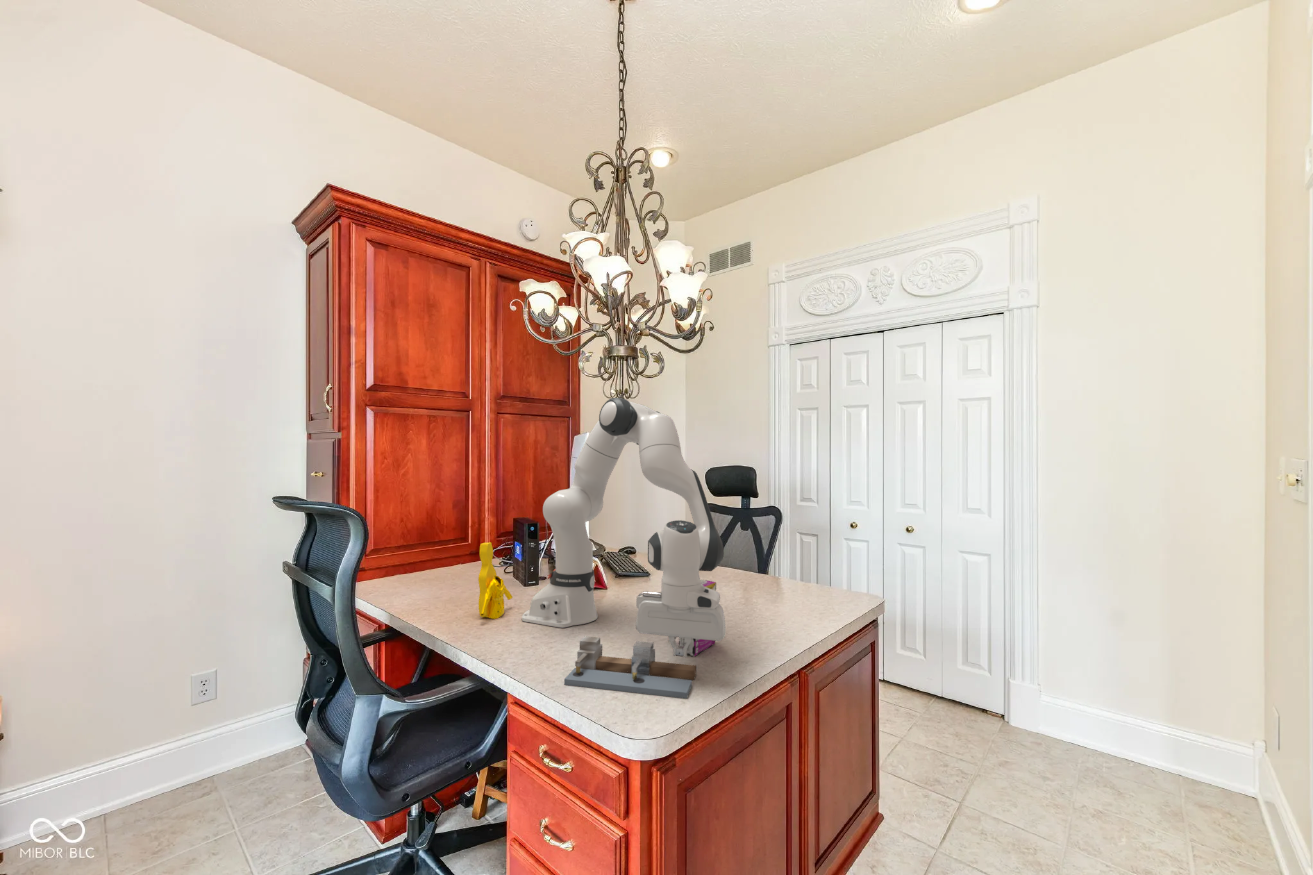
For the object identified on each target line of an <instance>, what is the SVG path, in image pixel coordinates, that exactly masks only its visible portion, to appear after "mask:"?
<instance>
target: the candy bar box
mask: <svg viewBox="0 0 1313 875" xmlns="http://www.w3.org/2000/svg"><path fill="white" fill-rule="evenodd" d="M700 585H702V586H704V587H707V588H709V589H712V590H714V591H717V581H713V580H707V579H706V580H705V579H700ZM686 643H687V642H684V638H683V637H678V646H685V645H686ZM715 644H716V641H713V640H703V639H693V638H692V641H691V643H690V644H689V646H688V648H687V656H690V657H692V658H693V657H696V656H697V655H699V654H700V653H702V652H704V651H705V650H707V649H709V648H710V647H712V646H713V645H715Z"/></svg>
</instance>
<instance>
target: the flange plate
mask: <svg viewBox="0 0 1313 875" xmlns="http://www.w3.org/2000/svg"><path fill="white" fill-rule="evenodd" d="M563 685H564V686H565V685H566V686H572V687H573V686H575V687H581V688H589V689H590V688H591V689H600V690H609V691H616V692H617V691H618V692H627V693H635V694H641V695H642V694H643V695H653V696H661V697H670V698H678V699H679V698H680V699H685V700H686V699H688V696H689V694H690V692H691V689H692V687H693V680H690V679H680V678H671V677H661V676H652V675H649V676H647V675H637V679H635V680H634V679H632V674H631V673H624V672H614V671H605V670H590V669H581V668H580V673H576V667H574V668H573V669H572V670H571V672H569V673H568V675H567V676H566V677H565V678H564V681H563Z"/></svg>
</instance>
